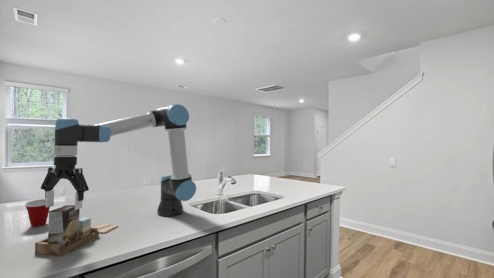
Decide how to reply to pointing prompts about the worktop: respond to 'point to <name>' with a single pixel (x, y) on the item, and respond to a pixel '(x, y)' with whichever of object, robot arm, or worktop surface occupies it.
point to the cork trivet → (105, 228)
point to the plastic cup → (37, 212)
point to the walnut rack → (57, 249)
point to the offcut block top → (84, 222)
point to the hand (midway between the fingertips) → (63, 207)
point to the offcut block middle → (84, 230)
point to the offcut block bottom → (84, 235)
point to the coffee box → (63, 225)
